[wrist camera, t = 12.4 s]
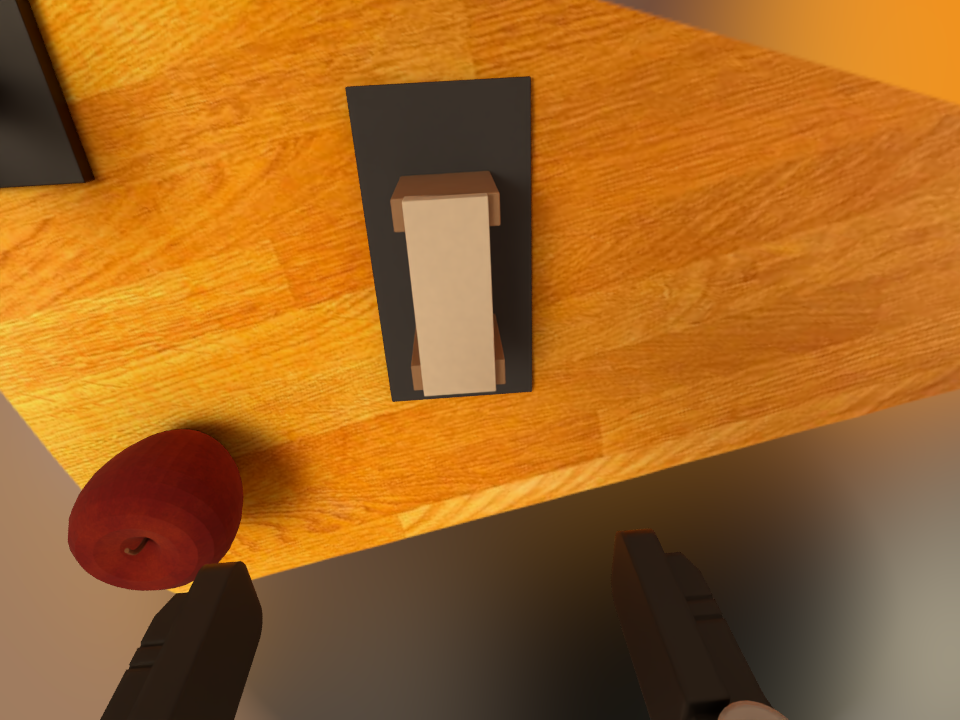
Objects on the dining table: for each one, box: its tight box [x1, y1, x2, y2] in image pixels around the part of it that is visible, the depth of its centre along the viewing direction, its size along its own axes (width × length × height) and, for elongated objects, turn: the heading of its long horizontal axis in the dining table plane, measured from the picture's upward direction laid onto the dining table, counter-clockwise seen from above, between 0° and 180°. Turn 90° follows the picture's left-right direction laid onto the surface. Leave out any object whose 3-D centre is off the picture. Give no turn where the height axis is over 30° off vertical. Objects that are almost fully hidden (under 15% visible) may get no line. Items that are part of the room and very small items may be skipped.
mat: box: [345, 76, 532, 402], centre depth 34 cm, size 20×10×1 cm, turn 3°
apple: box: [68, 429, 243, 591], centre depth 36 cm, size 10×10×10 cm
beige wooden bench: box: [390, 171, 506, 396], centre depth 31 cm, size 11×5×7 cm, turn 3°
